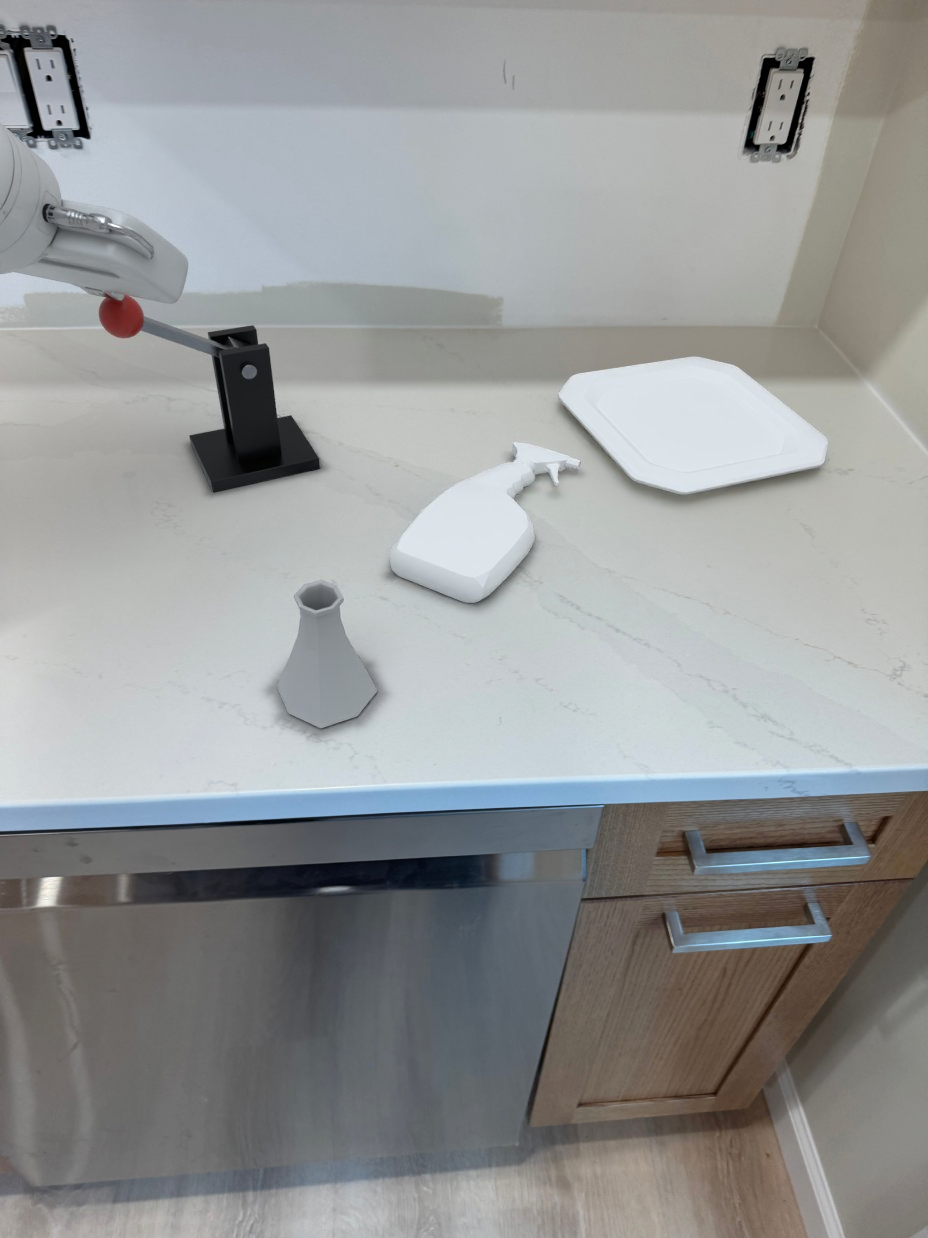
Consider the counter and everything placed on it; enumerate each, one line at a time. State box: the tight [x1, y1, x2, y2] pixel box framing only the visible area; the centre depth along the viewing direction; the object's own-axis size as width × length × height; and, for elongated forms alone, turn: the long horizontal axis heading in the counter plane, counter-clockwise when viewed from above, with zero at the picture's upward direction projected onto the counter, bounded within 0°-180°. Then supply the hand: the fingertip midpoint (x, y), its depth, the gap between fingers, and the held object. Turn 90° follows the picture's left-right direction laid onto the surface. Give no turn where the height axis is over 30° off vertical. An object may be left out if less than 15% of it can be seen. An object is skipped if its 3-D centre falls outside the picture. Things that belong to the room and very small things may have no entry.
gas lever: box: [98, 295, 252, 360], centre depth 74 cm, size 14×4×4 cm, turn 116°
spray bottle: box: [388, 441, 582, 604], centre depth 79 cm, size 3×11×24 cm
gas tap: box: [188, 324, 321, 493], centre depth 81 cm, size 11×9×13 cm
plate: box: [557, 355, 829, 496], centre depth 92 cm, size 25×25×2 cm
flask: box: [276, 579, 378, 729], centre depth 60 cm, size 7×7×10 cm
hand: (110, 288), depth 68 cm, fingers closed
